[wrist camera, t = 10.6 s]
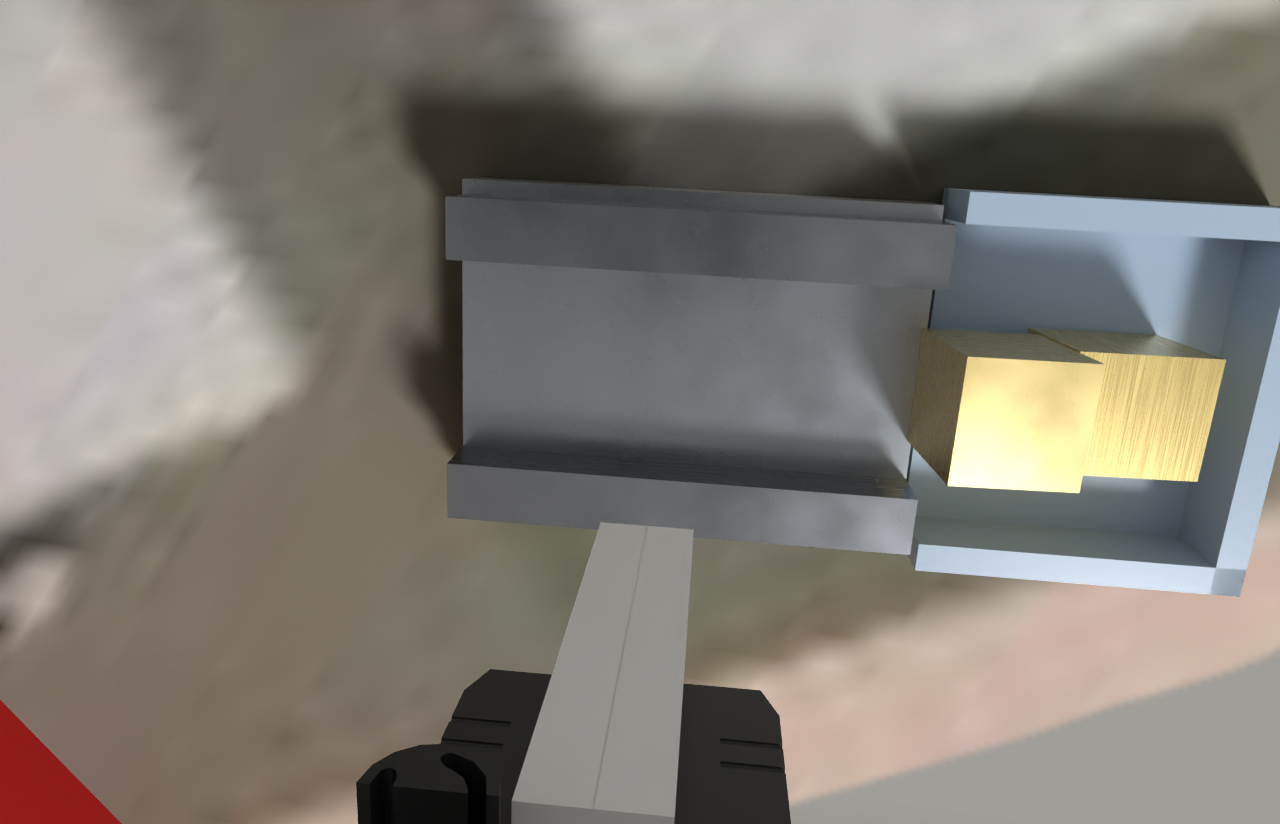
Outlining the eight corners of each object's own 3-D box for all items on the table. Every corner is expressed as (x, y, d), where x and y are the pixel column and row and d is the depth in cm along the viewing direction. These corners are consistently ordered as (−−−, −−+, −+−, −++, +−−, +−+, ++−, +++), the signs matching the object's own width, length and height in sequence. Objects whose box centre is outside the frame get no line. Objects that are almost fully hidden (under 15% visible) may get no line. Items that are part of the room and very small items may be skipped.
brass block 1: (923, 328, 31) (967, 356, 26) (1041, 334, 31) (1105, 364, 26) (907, 440, 32) (947, 486, 28) (1021, 447, 32) (1079, 493, 28)
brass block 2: (1080, 351, 28) (1226, 359, 28) (1028, 327, 32) (1156, 334, 32) (1057, 473, 29) (1197, 481, 29) (1009, 436, 33) (1133, 443, 33)
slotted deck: (480, 177, 33) (444, 180, 29) (927, 201, 32) (959, 208, 28) (480, 486, 36) (447, 530, 32) (885, 518, 35) (908, 568, 31)
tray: (944, 187, 32) (970, 191, 28) (1271, 205, 31) (1337, 211, 28) (896, 531, 35) (914, 570, 32) (1189, 554, 35) (1239, 597, 31)
